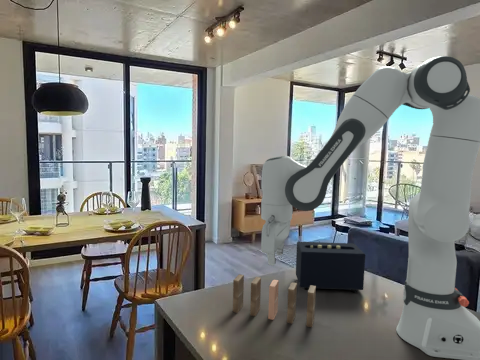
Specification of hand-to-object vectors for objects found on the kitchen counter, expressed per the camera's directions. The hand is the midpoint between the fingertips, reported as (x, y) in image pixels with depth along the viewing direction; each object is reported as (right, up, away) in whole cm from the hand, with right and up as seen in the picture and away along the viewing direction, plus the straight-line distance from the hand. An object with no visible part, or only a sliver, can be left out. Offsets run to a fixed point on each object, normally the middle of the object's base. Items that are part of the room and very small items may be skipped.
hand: (276, 259), depth 100 cm
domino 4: (+5, -17, 0) cm, 18 cm away
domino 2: (-6, -17, +4) cm, 18 cm away
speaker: (+21, -15, +25) cm, 36 cm away
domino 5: (+10, -18, -2) cm, 20 cm away
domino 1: (-11, -16, +6) cm, 21 cm away
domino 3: (-1, -17, +2) cm, 17 cm away
